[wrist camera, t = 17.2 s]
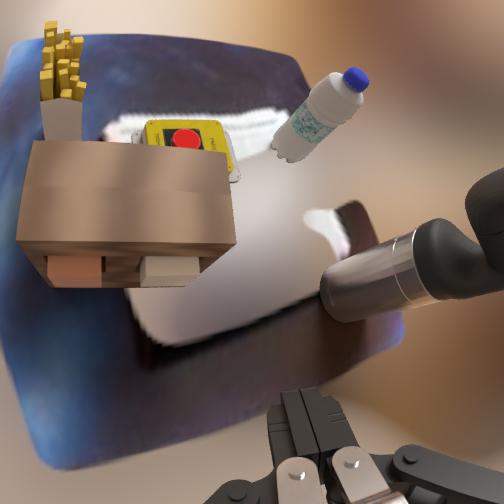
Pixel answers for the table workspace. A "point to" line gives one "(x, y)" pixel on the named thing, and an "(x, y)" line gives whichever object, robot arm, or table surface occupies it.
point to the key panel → (124, 206)
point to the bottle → (320, 114)
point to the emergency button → (190, 138)
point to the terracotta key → (75, 271)
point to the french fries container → (61, 85)
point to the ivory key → (168, 270)
